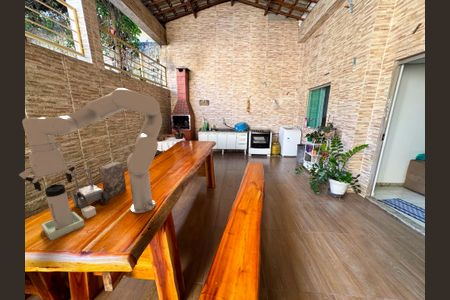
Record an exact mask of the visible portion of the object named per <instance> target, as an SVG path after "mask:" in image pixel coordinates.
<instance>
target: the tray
mask: <svg viewBox="0 0 450 300" xmlns="http://www.w3.org/2000/svg"><path fill="white" fill-rule="evenodd" d="M71 214H72V218H73V222H74V223H73V224H71V225H68V226H66V227H64V228H61V229H59V230H55V226H54V223H53V219H51V220H49V221H46V222H43V223H41V224H40V225H41V229H42V231H43V232H44V234H45V235H46V236H47V238H48V239H49V241H50V242H52V241H54V240H56V239H58V238H61V237H62V236H65V235H67V234H69V233H71V232H73V231H76V230H78V229H80V228H84V227H85V226H86V225H85V220H84V219H83V218H82V217H81V216H80V215H78V213H76V212H75V211H71Z"/></svg>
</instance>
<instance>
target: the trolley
mask: <svg viewBox="0 0 450 300" xmlns="http://www.w3.org/2000/svg"><path fill="white" fill-rule="evenodd" d="M86 171H87V172H88V175H89V176H88V177H89V182H90V185H87V186H83V187H81V188H80V187H79V183H78V179H77V174H78V173H82V172H86ZM72 173H73V175H72V176H73V178H74V183H75V188H76V192H73V193H71V199H72V203H73V204H74V207H76V208H79V210H80V211H81V209H82V208H85V207H87V206H89V204H91V203H94V202H97V201H100V202H101V203H102V204H103V205H105V204H107V203H110V198H109V195H108V193H107V191H106V190H103V188H101V187H100V186H98V185H94V183H93V182H94V181H93V177H92V172H91V168H84V169H79V170H77V171H72Z"/></svg>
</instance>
